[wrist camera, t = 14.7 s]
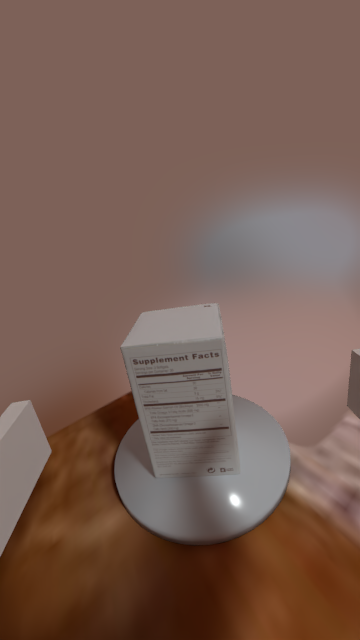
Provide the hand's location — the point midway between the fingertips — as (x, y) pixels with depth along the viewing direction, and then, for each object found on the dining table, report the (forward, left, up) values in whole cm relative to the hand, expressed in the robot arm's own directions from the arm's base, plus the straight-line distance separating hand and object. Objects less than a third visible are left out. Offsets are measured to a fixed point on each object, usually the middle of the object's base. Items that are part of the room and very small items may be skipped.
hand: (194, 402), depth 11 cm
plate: (-5, +10, -14) cm, 18 cm away
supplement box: (-5, +10, -13) cm, 17 cm away
